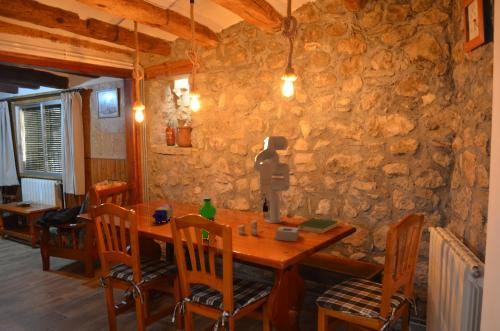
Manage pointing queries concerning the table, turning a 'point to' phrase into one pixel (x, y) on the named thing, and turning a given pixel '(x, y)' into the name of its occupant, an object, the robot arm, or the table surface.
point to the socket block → (287, 233)
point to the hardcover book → (317, 225)
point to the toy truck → (163, 213)
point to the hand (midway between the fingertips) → (266, 210)
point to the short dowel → (241, 229)
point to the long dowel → (266, 213)
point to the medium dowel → (253, 227)
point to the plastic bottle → (207, 213)
